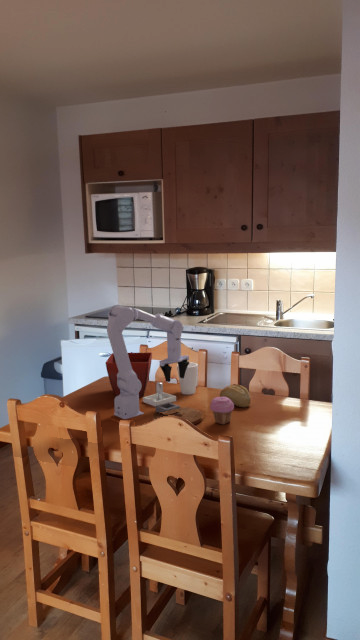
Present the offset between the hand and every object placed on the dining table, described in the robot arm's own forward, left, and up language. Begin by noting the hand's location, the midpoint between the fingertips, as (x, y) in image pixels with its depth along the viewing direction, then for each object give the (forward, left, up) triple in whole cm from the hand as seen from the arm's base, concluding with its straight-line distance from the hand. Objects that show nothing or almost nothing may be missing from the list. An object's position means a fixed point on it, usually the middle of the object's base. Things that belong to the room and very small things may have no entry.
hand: (175, 379), depth 216 cm
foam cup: (+14, +8, -11) cm, 19 cm away
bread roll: (+18, -18, -11) cm, 28 cm away
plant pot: (-5, +26, -11) cm, 29 cm away
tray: (-4, +6, -10) cm, 13 cm away
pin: (-4, +6, -10) cm, 12 cm away
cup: (-10, -7, -10) cm, 16 cm away
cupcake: (-2, -30, -11) cm, 32 cm away
